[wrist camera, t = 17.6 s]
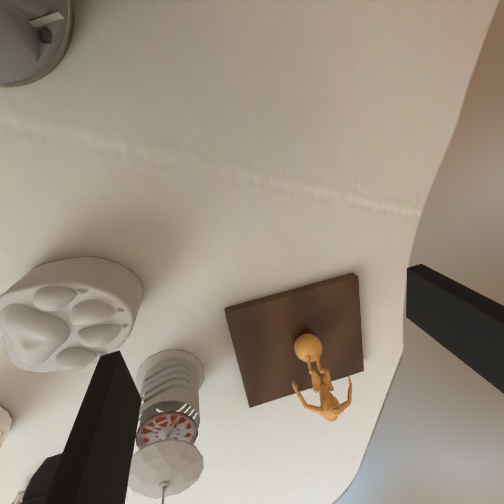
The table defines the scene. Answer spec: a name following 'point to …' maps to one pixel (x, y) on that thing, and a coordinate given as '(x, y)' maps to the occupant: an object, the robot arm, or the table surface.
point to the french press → (167, 425)
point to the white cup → (4, 424)
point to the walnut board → (289, 329)
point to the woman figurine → (19, 497)
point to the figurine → (310, 351)
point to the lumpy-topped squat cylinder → (69, 313)
